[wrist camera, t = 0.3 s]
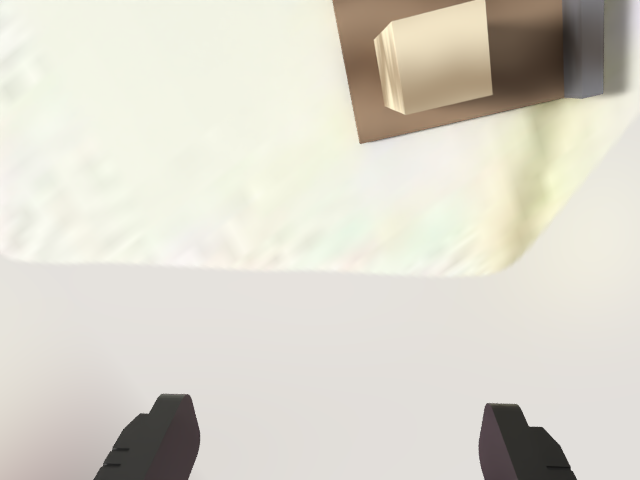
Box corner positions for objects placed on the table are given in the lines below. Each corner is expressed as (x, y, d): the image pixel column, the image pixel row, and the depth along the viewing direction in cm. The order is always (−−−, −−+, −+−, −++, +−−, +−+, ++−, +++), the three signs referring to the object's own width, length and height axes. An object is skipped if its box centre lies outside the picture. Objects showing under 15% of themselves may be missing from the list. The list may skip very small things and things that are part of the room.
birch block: (373, 39, 32) (391, 21, 23) (441, 22, 31) (487, -4, 22) (384, 106, 34) (405, 114, 24) (448, 91, 33) (495, 94, 24)
